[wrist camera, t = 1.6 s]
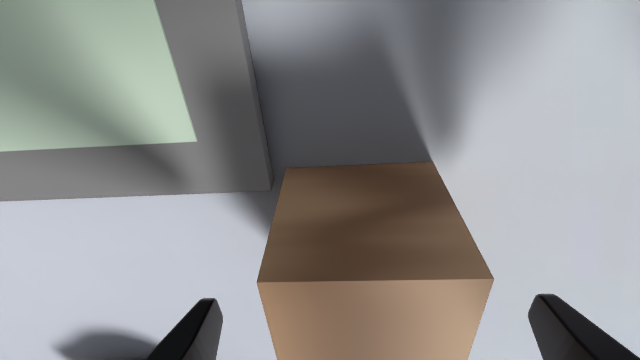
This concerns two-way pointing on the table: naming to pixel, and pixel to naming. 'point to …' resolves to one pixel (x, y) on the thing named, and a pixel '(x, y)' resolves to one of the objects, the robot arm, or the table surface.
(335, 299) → the cube
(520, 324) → the table surface
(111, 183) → the mat
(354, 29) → the table surface
